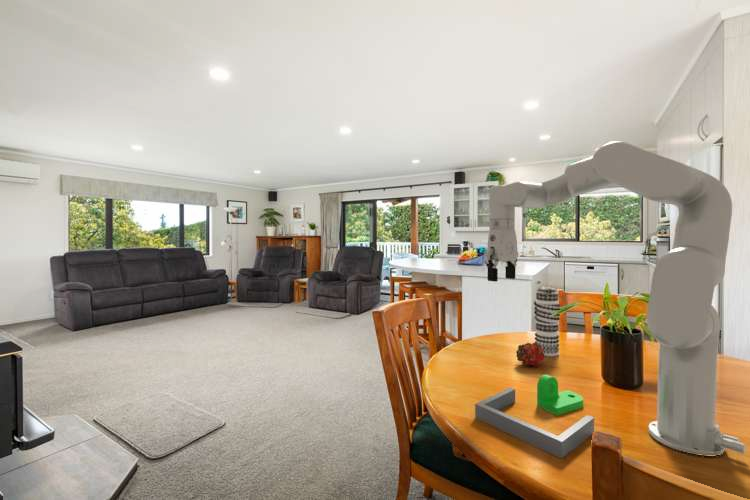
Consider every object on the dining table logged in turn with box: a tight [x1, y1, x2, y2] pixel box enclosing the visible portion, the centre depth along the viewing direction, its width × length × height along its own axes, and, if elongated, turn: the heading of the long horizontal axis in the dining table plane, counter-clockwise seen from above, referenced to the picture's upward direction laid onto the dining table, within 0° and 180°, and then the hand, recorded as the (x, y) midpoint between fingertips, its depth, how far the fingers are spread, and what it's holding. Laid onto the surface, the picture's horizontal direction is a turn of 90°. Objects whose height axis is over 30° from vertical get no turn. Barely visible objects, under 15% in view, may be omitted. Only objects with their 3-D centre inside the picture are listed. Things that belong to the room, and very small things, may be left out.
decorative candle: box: [533, 286, 561, 357], centre depth 137 cm, size 9×9×25 cm
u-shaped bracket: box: [474, 387, 595, 459], centre depth 85 cm, size 21×16×4 cm
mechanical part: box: [536, 374, 584, 416], centre depth 95 cm, size 12×6×8 cm, turn 115°
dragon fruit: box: [516, 342, 546, 368], centre depth 124 cm, size 8×8×12 cm
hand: (501, 279), depth 113 cm, fingers open, 9 cm apart
